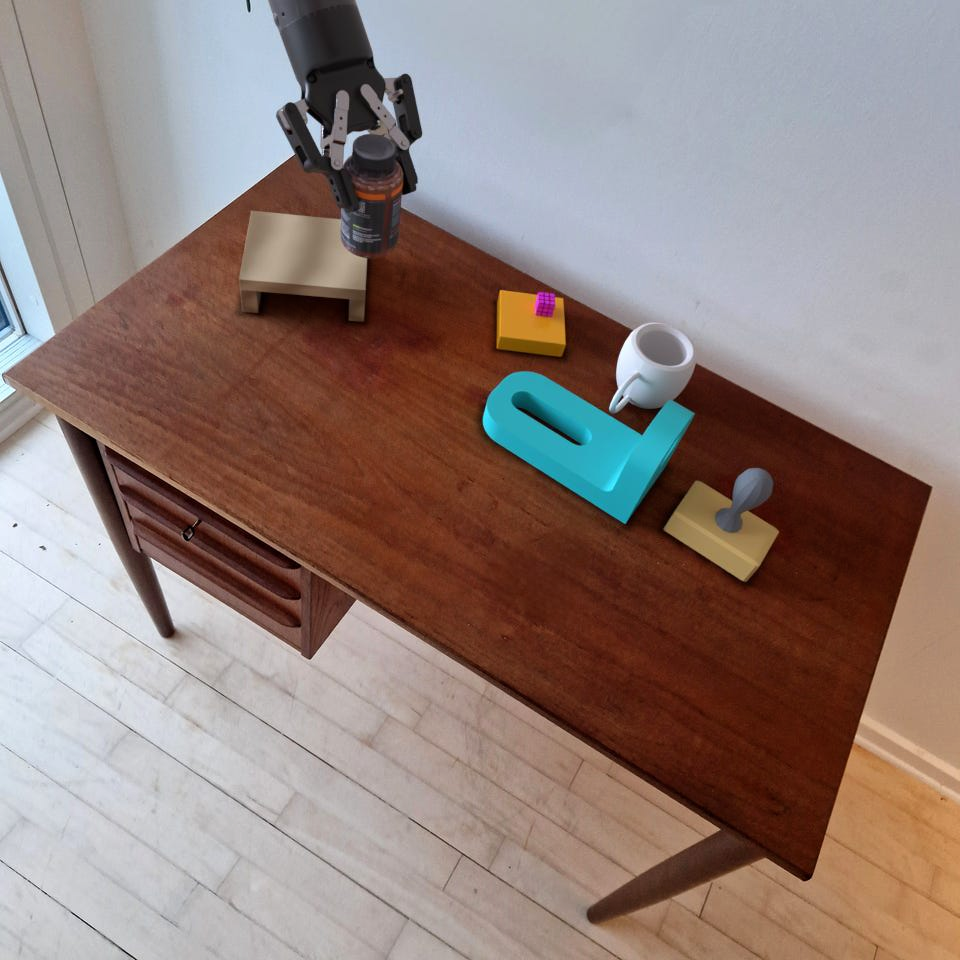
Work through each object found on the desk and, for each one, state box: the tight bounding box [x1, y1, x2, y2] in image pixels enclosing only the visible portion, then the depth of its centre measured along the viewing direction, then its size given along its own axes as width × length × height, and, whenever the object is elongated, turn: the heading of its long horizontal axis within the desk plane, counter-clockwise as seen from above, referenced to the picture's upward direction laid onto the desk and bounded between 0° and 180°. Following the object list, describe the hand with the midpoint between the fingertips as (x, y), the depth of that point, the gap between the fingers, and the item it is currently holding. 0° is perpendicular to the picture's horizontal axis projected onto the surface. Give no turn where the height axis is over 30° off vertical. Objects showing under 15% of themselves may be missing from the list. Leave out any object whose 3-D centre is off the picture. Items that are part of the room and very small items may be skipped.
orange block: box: [496, 289, 567, 358], centre depth 101 cm, size 8×8×4 cm
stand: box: [238, 210, 368, 323], centre depth 100 cm, size 14×12×5 cm
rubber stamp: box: [663, 467, 780, 583], centre depth 84 cm, size 10×6×12 cm, turn 55°
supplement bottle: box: [340, 133, 403, 260], centre depth 83 cm, size 6×6×11 cm
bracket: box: [482, 371, 696, 525], centre depth 89 cm, size 20×9×12 cm, turn 56°
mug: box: [608, 321, 698, 415], centre depth 96 cm, size 12×8×8 cm
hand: (381, 201), depth 82 cm, fingers closed on supplement bottle, 6 cm apart
